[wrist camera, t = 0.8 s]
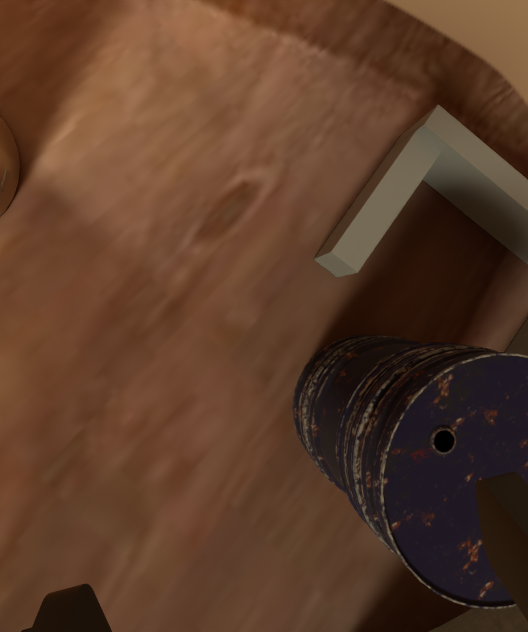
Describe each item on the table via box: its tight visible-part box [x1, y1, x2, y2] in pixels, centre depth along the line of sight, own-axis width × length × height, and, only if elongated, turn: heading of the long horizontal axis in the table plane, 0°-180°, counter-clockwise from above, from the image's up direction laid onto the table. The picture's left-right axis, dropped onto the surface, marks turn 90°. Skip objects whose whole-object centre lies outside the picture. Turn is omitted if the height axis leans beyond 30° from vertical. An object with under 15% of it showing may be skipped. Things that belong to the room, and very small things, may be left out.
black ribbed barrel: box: [293, 335, 528, 609], centre depth 26 cm, size 10×10×15 cm
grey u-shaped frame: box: [314, 105, 528, 356], centre depth 32 cm, size 17×10×5 cm, turn 54°
